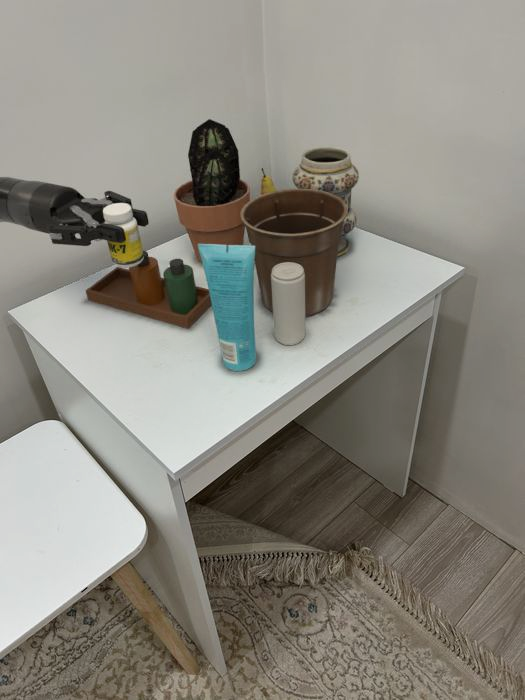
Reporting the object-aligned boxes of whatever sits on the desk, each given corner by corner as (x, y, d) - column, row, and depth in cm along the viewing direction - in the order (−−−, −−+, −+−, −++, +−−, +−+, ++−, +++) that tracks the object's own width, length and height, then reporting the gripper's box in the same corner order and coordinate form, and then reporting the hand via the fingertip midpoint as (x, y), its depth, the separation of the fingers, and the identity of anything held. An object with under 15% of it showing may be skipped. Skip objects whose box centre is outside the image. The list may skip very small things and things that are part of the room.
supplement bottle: (106, 264, 82) (92, 212, 76) (125, 250, 85) (114, 199, 79) (131, 271, 80) (119, 218, 74) (150, 256, 83) (140, 204, 78)
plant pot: (228, 300, 93) (218, 213, 83) (292, 263, 102) (290, 179, 92) (299, 339, 84) (297, 245, 74) (363, 294, 92) (369, 204, 82)
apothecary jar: (368, 244, 106) (374, 151, 94) (326, 269, 99) (328, 172, 88) (321, 226, 113) (322, 137, 101) (280, 248, 107) (276, 156, 95)
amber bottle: (131, 302, 94) (120, 258, 88) (148, 287, 97) (138, 244, 92) (153, 308, 92) (143, 263, 86) (170, 293, 95) (161, 249, 90)
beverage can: (269, 333, 86) (265, 267, 78) (296, 324, 87) (294, 258, 79) (282, 350, 82) (279, 282, 74) (311, 341, 83) (310, 273, 76)
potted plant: (170, 256, 106) (146, 124, 91) (224, 232, 113) (210, 105, 97) (213, 282, 98) (194, 141, 83) (269, 253, 105) (261, 119, 89)
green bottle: (164, 311, 91) (155, 266, 86) (180, 296, 94) (172, 252, 89) (188, 317, 89) (180, 272, 84) (203, 302, 92) (197, 257, 87)
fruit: (288, 219, 116) (286, 163, 108) (265, 227, 114) (261, 170, 106) (274, 210, 120) (272, 156, 112) (252, 217, 118) (247, 162, 110)
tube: (265, 350, 82) (256, 235, 70) (262, 372, 79) (253, 254, 66) (216, 350, 83) (200, 236, 71) (211, 371, 79) (193, 255, 67)
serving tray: (88, 300, 96) (85, 290, 95) (119, 276, 102) (117, 266, 100) (188, 328, 88) (186, 318, 86) (216, 300, 94) (214, 290, 92)
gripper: (84, 211, 91) (168, 229, 85) (19, 251, 82) (108, 274, 75) (72, 167, 86) (160, 182, 80) (2, 203, 77) (95, 224, 70)
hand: (134, 227), depth 77 cm, fingers closed on supplement bottle, 4 cm apart
